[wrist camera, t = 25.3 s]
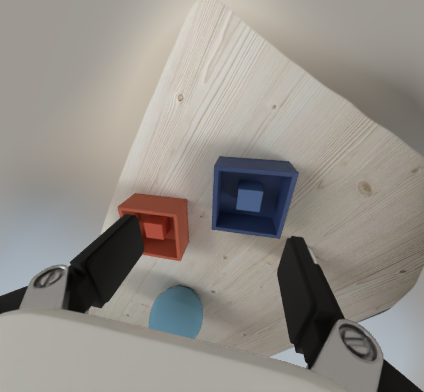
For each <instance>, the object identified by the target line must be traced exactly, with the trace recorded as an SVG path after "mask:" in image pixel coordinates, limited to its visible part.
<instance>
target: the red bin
mask: <svg viewBox="0 0 424 392" xmlns="http://www.w3.org/2000/svg"><path fill="white" fill-rule="evenodd" d="M118 211H119V215H120V218H121V217H122V216H123V215H125V214H131V215H135V216H136V217H137V218H138V220H139V225H140V229H141V234H142V239H143V244H144V252H143V254H142V255H148V256H154V257H160V258H165V259H171V260H178V261H181V259H182V257H183V254H184V252H185V250H186V247H187V245H188V243H189V236H188V213H187V199H180V198H171V197H162V196H153V195H145V194H136V193H135V194H134V195H133V196H131V197H130V198H129V199H127V200H126V201H125V202H123V203H122V204H121V205H119V206H118ZM151 214H153V215H160V216H168V217H170V226H171V229H170V230H169V232H168V234H167V235H166V237H165V238H164V240H161V239H155V238H148V237H146V232H145V227H144V222H145V220H146V219H147V218H148V217H149V216H150V215H151Z"/></svg>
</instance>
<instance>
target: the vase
mask: <svg viewBox="0 0 424 392" xmlns="http://www.w3.org/2000/svg"><path fill="white" fill-rule="evenodd" d="M202 320H203V309H202V304H201V301H200V299H199V297H198V296H197V295H196V294H195V292H193V291H192V290H191V289H189V288H186V287H182V286H176V287H171V288H169V289H167V290H166V291H165V292H163V293H162V294H160V295H159V296H158V297H157V298H156V300H155V302H154V304H153V306H152V309H151V312H150V317H149V328H150V329H154V330H158V331H162V332H167V333H171V334H175V335H179V336H184V337H188V338H192V339H195V337H196V336H197V334H198V332H199V331H200V329H201V325H202Z"/></svg>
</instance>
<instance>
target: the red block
mask: <svg viewBox="0 0 424 392" xmlns="http://www.w3.org/2000/svg"><path fill="white" fill-rule="evenodd" d="M144 227H145V232H146V237H148V238H155V239H161V240H164V238H165V237H166V235H167V234H168V232H169V230H170V229H171V226H170V217H168V216H160V215H153V214H151V215H150V216H149V217H148V218H147V219H146V220H145V222H144Z"/></svg>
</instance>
